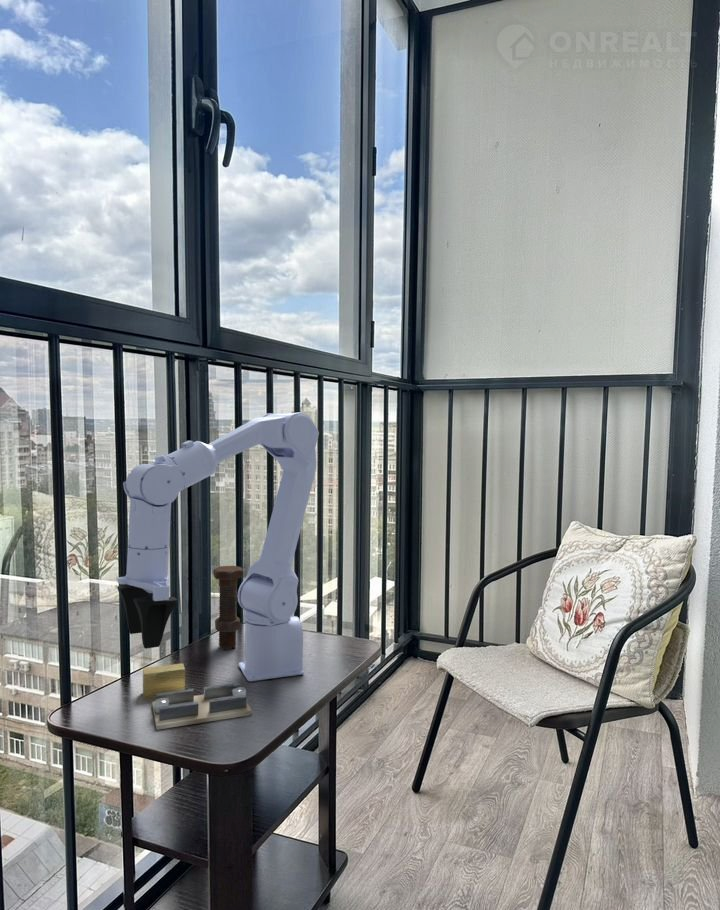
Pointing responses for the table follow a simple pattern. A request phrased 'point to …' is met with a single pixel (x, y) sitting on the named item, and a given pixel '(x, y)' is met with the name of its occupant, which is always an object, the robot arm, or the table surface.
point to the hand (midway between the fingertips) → (143, 639)
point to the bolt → (227, 605)
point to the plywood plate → (201, 714)
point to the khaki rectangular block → (163, 679)
